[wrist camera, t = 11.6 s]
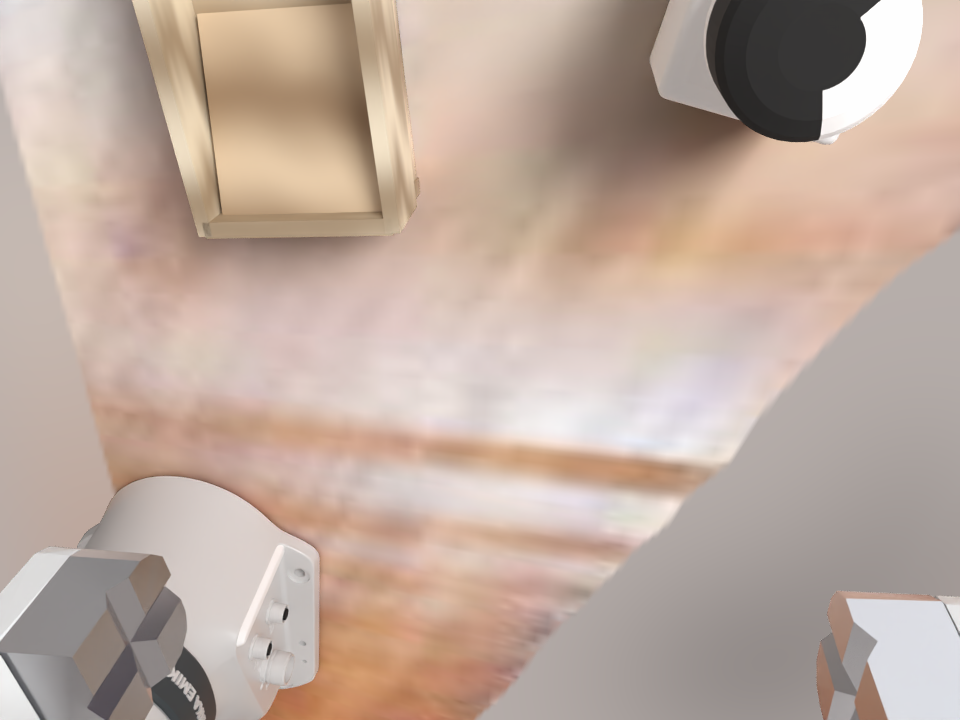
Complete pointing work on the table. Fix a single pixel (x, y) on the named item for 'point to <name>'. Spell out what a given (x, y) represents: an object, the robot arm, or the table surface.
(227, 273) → the table surface
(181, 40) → the tan wooden tray
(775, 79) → the medicine bottle
